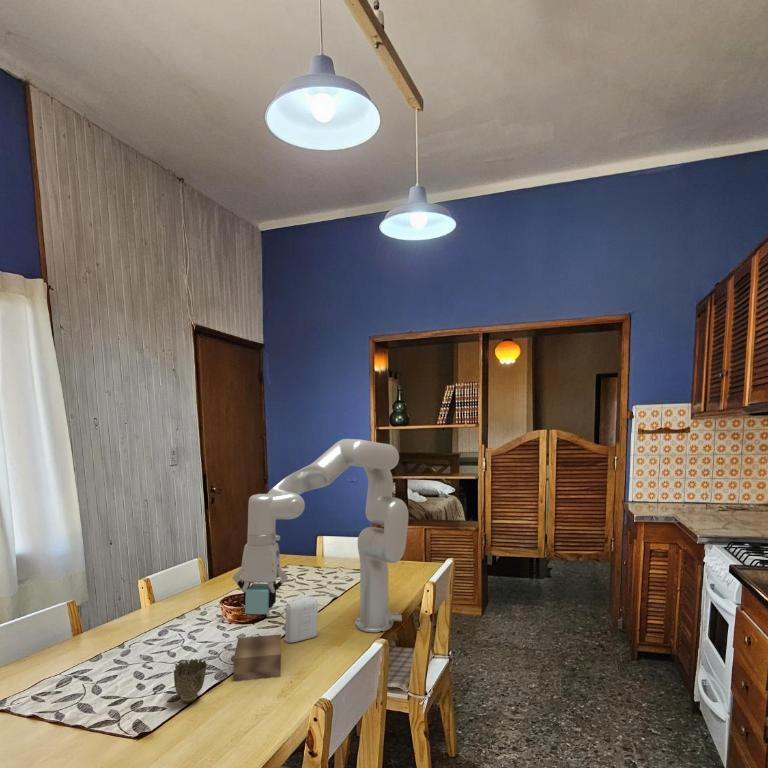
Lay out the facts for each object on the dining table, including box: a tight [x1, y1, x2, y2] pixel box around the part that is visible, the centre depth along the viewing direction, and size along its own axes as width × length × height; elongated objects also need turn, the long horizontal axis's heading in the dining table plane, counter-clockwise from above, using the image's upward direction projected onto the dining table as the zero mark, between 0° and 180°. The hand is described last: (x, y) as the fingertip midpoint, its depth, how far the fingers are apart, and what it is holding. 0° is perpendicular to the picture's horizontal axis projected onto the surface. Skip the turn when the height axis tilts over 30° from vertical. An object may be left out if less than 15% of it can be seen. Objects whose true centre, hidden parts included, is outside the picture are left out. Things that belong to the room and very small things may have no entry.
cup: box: [173, 658, 208, 704], centre depth 115 cm, size 8×7×8 cm
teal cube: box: [244, 582, 273, 615], centre depth 132 cm, size 6×6×6 cm
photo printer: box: [284, 595, 319, 644], centre depth 148 cm, size 10×4×12 cm, turn 123°
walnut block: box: [232, 634, 282, 682], centre depth 130 cm, size 12×12×6 cm
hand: (259, 605), depth 131 cm, fingers closed on teal cube, 6 cm apart
